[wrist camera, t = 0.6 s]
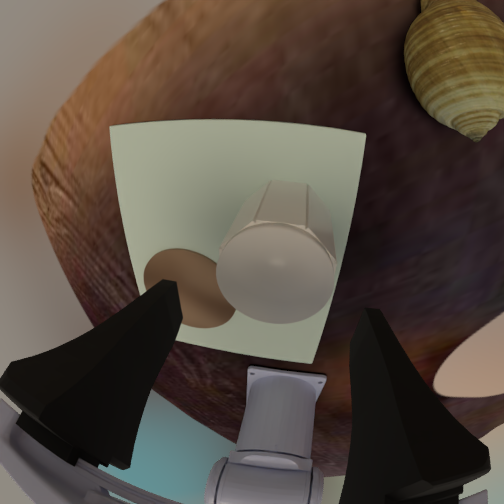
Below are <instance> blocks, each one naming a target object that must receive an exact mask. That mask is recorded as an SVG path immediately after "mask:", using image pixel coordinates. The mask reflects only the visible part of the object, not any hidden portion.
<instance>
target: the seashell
mask: <svg viewBox="0 0 504 504" xmlns="http://www.w3.org/2000/svg"><path fill="white" fill-rule="evenodd" d="M404 57H405V58H404V61H405V66H406V73H407V75H408V80H409V82H410V85H411V88H412V90H413V92H414V93H415V96H416V98H417V99H418V101H419V102H420V104H421V106H422V107H423V108H424V109H425V110H426V111H427V112H428V114H429V115H430V116H432V117H433V118H435V119H436V120H437V121H438V122H440V123H442V124H444V125H446V126H448V127H450V128H452V129H455V130H457V131H458V132H460V133H461V134H463V135H465V136H468V137H469V138H470V139H472V140H473V141H474V142H478V141H480V139H481V138H482V137H483V136H484V135H486V133H487V131H488V130H490V129H492V128H493V127H494V126H495V125H496V124H497V122H498V121H499V119H501V118H504V23H503V22H502V21H501V20H500V19H499V17H498V16H496V15H495V14H494V13H493V12H492V11H491V10H490V9H488V8H487V7H485V6H484V5H482V4H481V3H479V2H477V1H476V0H421V13H420V14H419V15H418V17H417V18H416V19H415V20H414V21H413V23H412V24H411V26H410V28H409V30H408V32H407V35H406V39H405V44H404Z"/></svg>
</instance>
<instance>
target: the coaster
mask: <svg viewBox="0 0 504 504" xmlns="http://www.w3.org/2000/svg"><path fill="white" fill-rule="evenodd" d="M216 267H217V263H216V262H214V261H213V260H211V259H210V258H208V257H206V256H204V255H202V254H200V253H198V252H195V251H191V250H187V249H179V248H174V249H166V250H163V251H160V252H159V253H157V254H155V255H154V256H153V257H152V258H151V259H150V260H149V262H148V263H147V265H146V267H145V270H144V285H145V288H146V291H147V290H149V289H150V288H151V287H152V286H154V285H155V284H156V283H158V282H159V281H161V280H162V279H166V280H171V281H177V287H178V293H179V298H180V304H181V309H182V314H183V320H182V324H184V325H187V326H191V327H195V328H214V327H218V326H220V325H223V324H225V323H226V322H228V321H229V320H230V319H231V318H232V316H233V315H234V313H235V310H236V309H235V308H234V307H233V306H232V305H231V304H230V303H229V302H228V301H227V300H226V299H225V297H224V296H223V294H222V292H221V290H220V288H219V286H218V283H217V278H216Z"/></svg>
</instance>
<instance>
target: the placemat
mask: <svg viewBox="0 0 504 504" xmlns="http://www.w3.org/2000/svg"><path fill="white" fill-rule="evenodd" d="M110 138H111V148H112V157H113V165H114V172H115V179H116V186H117V192H118V199H119V204H120V210H121V215H122V220H123V226H124V230H125V235H126V240H127V244H128V249H129V253H130V257H131V262H132V266H133V270H134V273H135V277H136V281H137V285H138V288H139V292H140V296H141V295H142V294H143V293H145V292H146V288H145V285H144V270H145V267H146V265H147V263H148V262H149V260H150V259H151V258H152V257H153V256H154V255H155V254H157V253H159V252H160V251H163V250H166V249H174V248H179V249H187V250H191V251H195V252H198V253H200V254H202V255H204V256H206V257H208V258H210V259H211V260H213V261H214V262H216V263H217V262H218V259H219V247H220V245H221V243H222V242H223V240H224V238H225V236H226V234H227V232H228V231H229V229H230V227H231V225H232V223H233V222H234V220H235V218H236V216H237V214H238V213H239V211H240V209H241V207H242V205H243V204H244V202H245V200H246V199H247V198H249V197H250V196H251V195H252V194H254V193H255V192H256V191H257V190H259V189H260V188H261V187H262V186H263V185H265V184H266V183H267V182H268V181H272V180H280V181H290V182H298V183H306V184H307V186H308V185H310V187H311V188H312V189H313V190H314V191H315V193H316V194H317V195H318V196H319V198H320V199H321V200H322V201H323V203H324V204H325V205H326V206H327V208H328V209H329V210H330V215H331V221H332V228H333V236H334V243H335V251H336V260H337V265H336V270H335V274H334V288H333V292H332V295H331V297H330V299H329V300H328V302H327V303H326V305H325V306H324V307H323V308H322V309H321V310H320V311H319V312H317V313H316V314H315V315H313V316H311V317H309V318H307V319H305V320H302V321H299V322H295V323H289V324H272V323H266V322H261V321H258V320H255V319H252V318H250V317H248V316H246V315H244V314H242V313H241V312H239V311H238V310H237V309H236V310H235V313H234V315H233V316H232V318H231V319H230V320H229V321H228V322H226V323H225V324H223V325H220V326H218V327H214V328H195V327H191V326H187V325H184V324H182V323H181V326H180V329H179V332H178V334H177V337H176V340H178V341H182V342H186V343H191V344H195V345H200V346H204V347H209V348H214V349H219V350H224V351H229V352H234V353H240V354H246V355H252V356H258V357H264V358H271V359H278V360H285V361H293V362H301V363H310V364H312V362H313V359H314V356H315V353H316V350H317V347H318V344H319V341H320V338H321V335H322V332H323V328H324V325H325V322H326V319H327V315H328V312H329V308H330V305H331V301H332V298H333V294H334V291H335V287H336V283H337V280H338V276H339V272H340V268H341V264H342V260H343V256H344V252H345V247H346V243H347V239H348V234H349V230H350V225H351V220H352V216H353V211H354V206H355V201H356V195H357V190H358V184H359V178H360V172H361V166H362V160H363V153H364V146H365V139H366V134H365V133H362V132H356V131H350V130H344V129H338V128H331V127H324V126H316V125H308V124H299V123H289V122H277V121H262V120H241V119H186V120H165V121H151V122H139V123H129V124H120V125H113V126H110Z"/></svg>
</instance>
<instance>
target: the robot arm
mask: <svg viewBox="0 0 504 504" xmlns="http://www.w3.org/2000/svg"><path fill="white" fill-rule="evenodd" d="M182 320H183V314H182V309H181V304H180V298H179V293H178V287H177V281H171V280H166V279H162V280H161V281H159V282H158V283H156V284H155V285H154V286H152V287H151V288H150V289H149V290H147V291H146V292H145V293H143V294H142V295H141V296H139V297H138V298H137V299H135V300H134V301H133V302H131V303H130V304H129V305H127V306H126V307H125V308H123V309H122V310H120V311H119V312H118V313H116V314H115V315H113V316H112V317H110V318H109V319H107V320H106V321H104V322H103V323H101V324H100V325H98V326H97V327H95V328H93V329H92V330H90V331H88V332H86V333H85V334H83V335H81V336H79V337H77V338H76V339H73V340H71V341H69V342H67V343H65V344H63V345H61V346H59V347H56V348H54V349H51V350H49V351H46V352H43V353H41V354H38V355H35V356H32V357H28V358H24V359H21V360H17V361H13V362H11V363H10V364H9V366H8V367H7V369H6V371H5V372H4V374H3V375H2V376H1V378H0V390H1V391H2V392H3V393H4V394H5V395H6V396H7V397H8V398H9V399H10V400H11V401H12V402H14V403H15V404H16V405H17V406H18V407H19V408H20V409H21V410H22V413H21V415H20V414H18V413H17V412H16V411H15V410H14V409H13V408H12V407H10V406H9V405H8V404H7V403H6V402H5V401H4V400H3V399H0V464H1V465H2V466H3V467H4V469H5V470H6V471H7V472H8V474H9V475H10V476H11V478H12V479H13V480H14V481H15V482H16V484H17V485H18V486H19V487H20V488H21V489H22V490H23V492H24V493H25V494H26V495H27V496H28V497H29V498H30V499H31V500H32V501H33V502H34V503H35V504H130V503H127V502H125V501H122V500H120V499H117V498H114V497H112V496H110V495H109V492H108V490H109V491H111V492H113V493H115V494H117V495H119V496H121V497H123V498H125V499H128V500H130V501H132V502H134V503H137V504H181V503H179V502H175V501H173V500H170V499H166V498H163V497H161V496H158V495H156V494H153V493H150V492H148V491H145V490H143V489H140V488H138V487H136V486H133V485H131V484H129V483H126V482H124V481H122V480H120V479H118V478H116V477H114V476H112V475H109V474H107V473H106V472H104V471H102V470H100V469H98V465H99V464H101V465H103V466H105V467H108V465H109V464H111V465H113V466H115V467H117V468H119V469H121V470H125V469H128V468H130V465H131V459H132V454H133V449H134V443H135V440H136V435H137V432H138V428H139V424H140V421H141V418H142V414H143V411H144V408H145V405H146V402H147V399H148V396H149V394H150V391H151V388H152V386H153V384H154V382H155V380H156V378H157V376H158V374H159V372H160V370H161V368H162V366H163V364H164V362H165V360H166V358H167V356H168V354H169V352H170V350H171V348H172V346H173V344H174V342H175V340H176V337H177V334H178V332H179V329H180V326H181V323H182ZM349 367H350V382H351V398H352V434H351V444H350V451H349V458H348V465H347V470H346V475H345V480H344V485H343V489H342V493H341V497H340V501H339V504H488V496H487V490H483V491H481V492H479V493H476V494H473V495H471V496H468V497H466V498H463V499H460V500H459V494H462V493H463V485H464V484H467V483H469V482H471V481H473V480H475V479H477V478H479V477H481V476H483V475H485V474H487V473H488V472H489V471H490V469H491V465H490V456H489V449H488V447H487V446H486V445H484V444H483V443H482V442H481V441H480V440H478V439H477V438H476V437H475V436H473V435H472V434H471V433H470V432H469V431H468V430H467V429H466V428H465V427H464V426H462V425H461V424H460V423H459V422H458V421H457V420H456V419H455V418H454V417H453V416H452V414H451V413H450V412H449V411H448V410H447V409H446V408H445V407H444V405H443V404H442V403H441V402H440V401H439V400H438V398H437V397H436V396H435V395H434V393H433V392H432V391H431V389H430V388H429V387H428V386H427V384H426V383H425V382H424V380H423V379H422V377H421V376H420V374H419V373H418V371H417V370H416V368H415V367H414V365H413V364H412V362H411V361H410V359H409V358H408V356H407V354H406V353H405V351H404V349H403V348H402V346H401V345H400V343H399V341H398V339H397V338H396V336H395V334H394V333H393V331H392V329H391V327H390V326H389V324H388V322H387V321H386V319H385V317H384V316H383V314H382V312H381V311H380V309H372V308H364V311H363V313H362V316H361V318H360V321H359V323H358V326H357V328H356V331H355V333H354V335H353V338H352V340H351V342H350V364H349ZM326 378H327V377H326V376H325V375H320V374H310V373H301V372H292V371H284V370H277V369H270V368H264V367H257V366H249V367H248V376H247V403H246V409H245V413H244V417H243V421H242V425H241V429H240V433H239V437H238V441H237V445H236V449H235V451H230V455H229V458H227V457H223V458H221V459H220V460H219V461H217V462H216V463H215V464H214V466H213V467H212V469H211V471H210V474H209V477H208V480H207V484H206V488H205V498H204V499H205V504H321V501H322V494H323V484H324V479H323V473H322V472H321V471H320V470H319V468H318V467H312V459H310V454H311V445H312V436H313V425H314V414H315V403H316V401H317V399H318V397H319V395H320V393H321V391H322V388H323V386H324V384H325V382H326Z"/></svg>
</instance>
